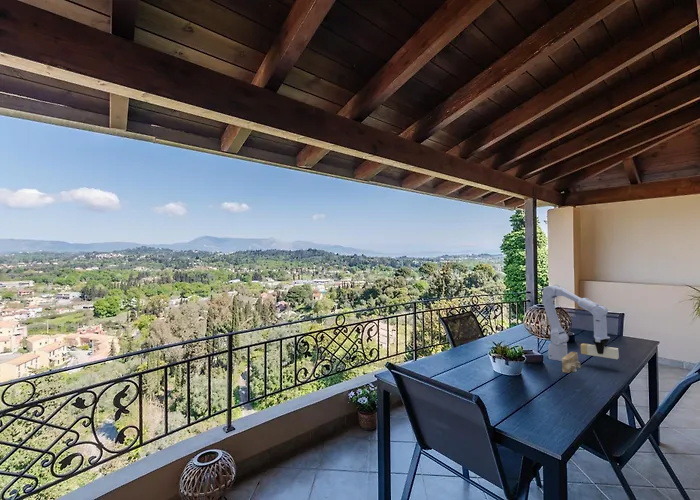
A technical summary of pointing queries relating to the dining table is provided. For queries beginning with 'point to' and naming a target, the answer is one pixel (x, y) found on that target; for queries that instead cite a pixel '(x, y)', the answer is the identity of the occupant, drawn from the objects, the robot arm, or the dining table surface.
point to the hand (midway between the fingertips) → (601, 352)
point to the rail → (591, 350)
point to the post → (570, 362)
